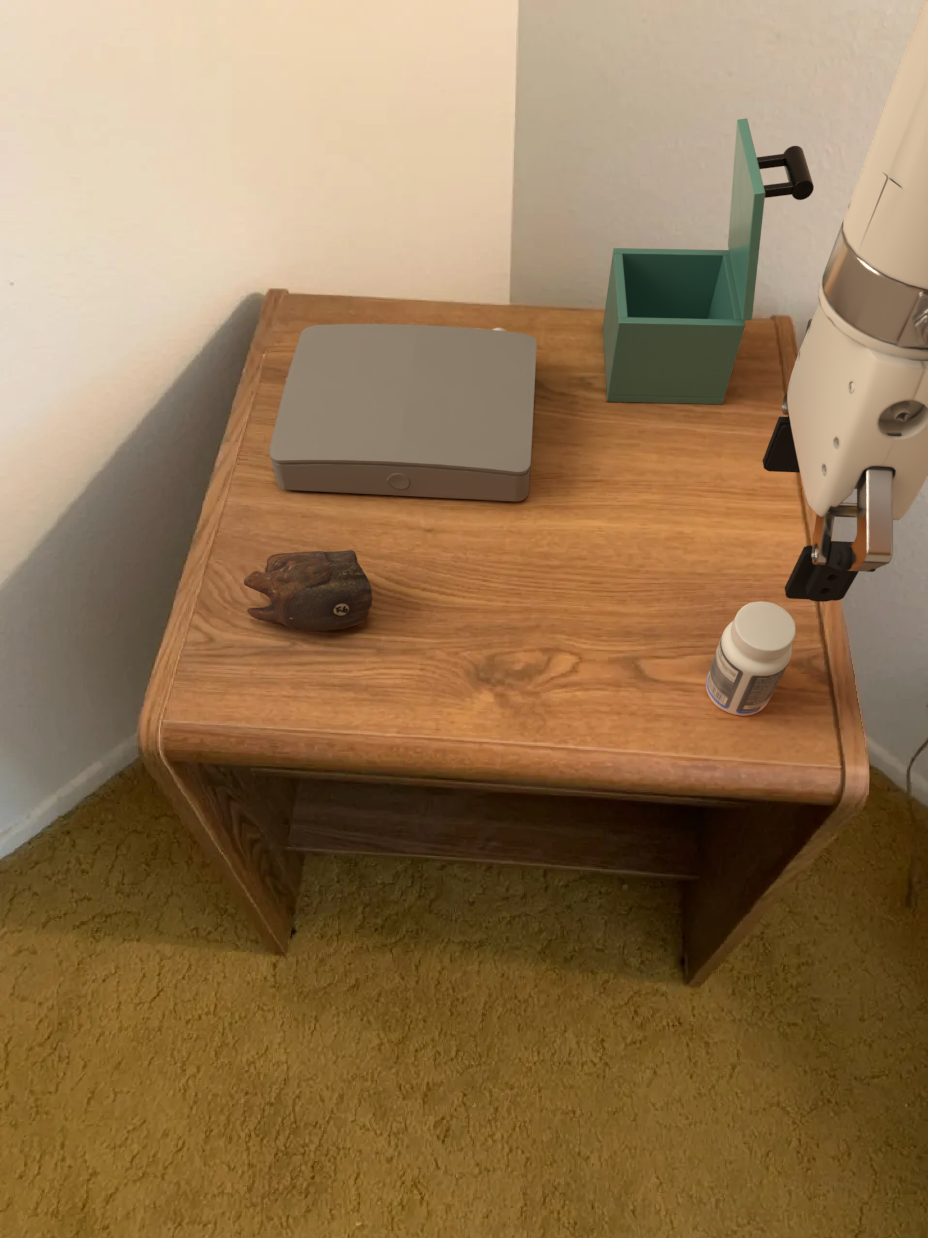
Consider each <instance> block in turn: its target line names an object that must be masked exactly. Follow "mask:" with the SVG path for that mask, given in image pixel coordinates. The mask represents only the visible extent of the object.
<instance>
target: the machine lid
mask: <svg viewBox="0 0 928 1238" xmlns="http://www.w3.org/2000/svg"><path fill="white" fill-rule="evenodd" d="M735 131H736V133H735V145H734V157H733V160H734V161H733V172H732V185H731V199H730V212H729V223H728V224H729V225H728V239H727V250H729V254H730V259H731V265H732V270H733V275H734V280H735V286H736V291H737V296H738V301H739V306H740V312H741V317H742V321H745V322H746V321H752V319H753V312H754V302H755V295H756V286H757V285H756V284H757V274H758V265H759V256H760V247H761V236H762V227H763V219H764V208H765V200H766V199H767V198H768V199H769V198H775V197H784V196H792V198H793V199H795V200H797V201H803V200H806V199H808V198H809V197H810V196H811V195H812V194H813V192H814V189H815V187H814V182H813V179H812V176H811V172H810V169H809V166H808V163H807V158H806V156H805V152H804V150H803V148H802V147H801V146H799V145H791V146H788V147H787V148H786V149H785V150H784V152H783V153H779V154H771V155H764V156H763V155H762V156H757V154H756V149H755V145H754V141H753V137H752V132H751V128H750V124H749V120H748V118H740V119H737V121H736V130H735ZM779 167H784V171H785V174H786V178H787V181H788V182H779V183H771V184H764V182H763V178H762V174H761V170H765V169H772V168H779Z"/></svg>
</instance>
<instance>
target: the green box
mask: <svg viewBox="0 0 928 1238" xmlns="http://www.w3.org/2000/svg"><path fill="white" fill-rule="evenodd" d="M610 262H611V263H610V270H609V278H608V283H607V284H608V285H607V292H606V299H605V300H606V301H605V307H604V314H603V322H602V339H603V340H602V342H603V358H604V376H605V392H606V393H605V394H606V402H607V403H609V402H611V403H644V404H645V403H647V404H648V403H649V404H650V403H651V404H652V403H653V404H689V405H691V404H693V405H724V401H725V397H726V394H727V390H728V387H729V384H730V380H731V376H732V373H733V369H734V366H735V363H736V359H737V356H738V353H739V349H740V345H741V342H742V339H743V335H744V332H745V328H746V321H742V317H741V312H740V306H739V301H738V296H737V291H736V286H735V280H734V275H733V270H732V265H731V259H730V254H729V249H694V248H693V249H692V248H691V249H690V248H689V249H687V248H686V249H685V248H684V249H683V248H637V247H636V248H633V247H630V248H629V247H627V248H626V247H613V248H612V255H611V261H610Z"/></svg>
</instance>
